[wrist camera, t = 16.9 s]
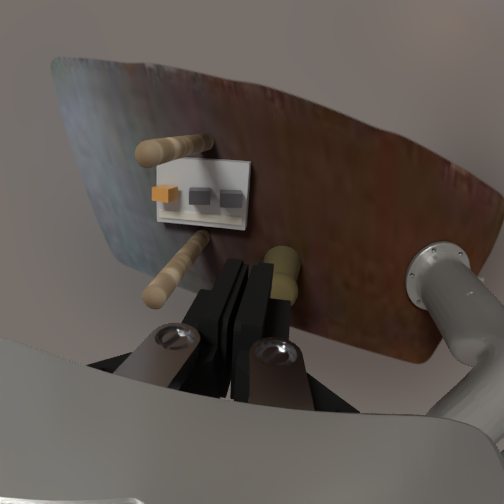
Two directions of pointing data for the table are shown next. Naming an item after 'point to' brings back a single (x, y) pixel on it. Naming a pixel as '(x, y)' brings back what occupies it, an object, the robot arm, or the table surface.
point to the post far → (175, 270)
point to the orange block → (164, 193)
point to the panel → (207, 176)
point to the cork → (284, 272)
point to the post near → (171, 149)
